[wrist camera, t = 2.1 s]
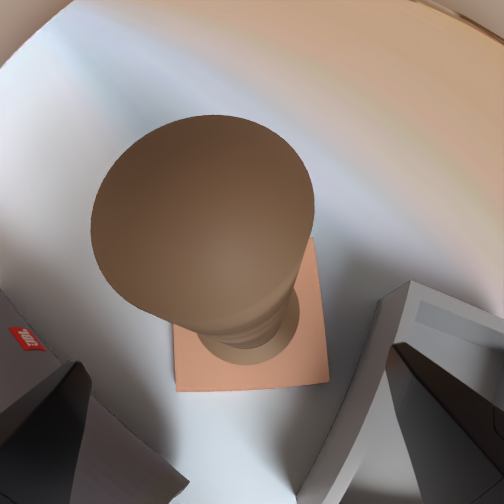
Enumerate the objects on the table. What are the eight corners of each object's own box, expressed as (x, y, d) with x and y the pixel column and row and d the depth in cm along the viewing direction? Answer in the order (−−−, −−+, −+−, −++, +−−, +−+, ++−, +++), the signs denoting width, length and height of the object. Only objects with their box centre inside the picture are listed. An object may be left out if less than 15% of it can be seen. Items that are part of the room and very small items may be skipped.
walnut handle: (274, 380, 17) (289, 438, 4) (181, 339, 18) (15, 283, 5) (312, 286, 19) (390, 134, 6) (221, 251, 20) (151, 75, 7)
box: (439, 517, 13) (471, 541, 8) (295, 496, 15) (302, 533, 10) (505, 348, 17) (548, 339, 12) (379, 299, 19) (410, 280, 14)
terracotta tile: (327, 381, 17) (329, 382, 17) (180, 390, 18) (176, 391, 17) (311, 241, 20) (313, 237, 20) (176, 253, 21) (173, 249, 20)
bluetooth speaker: (212, 450, 16) (161, 522, 7) (146, 531, 14) (81, 601, 4) (9, 263, 21) (-70, 217, 12) (-29, 341, 19) (-108, 320, 9)
